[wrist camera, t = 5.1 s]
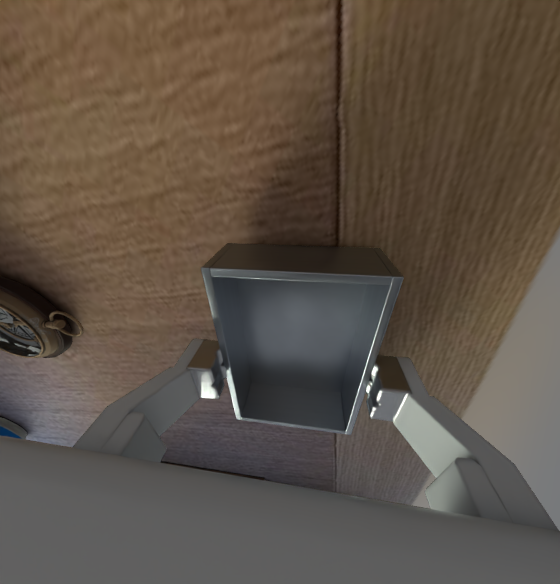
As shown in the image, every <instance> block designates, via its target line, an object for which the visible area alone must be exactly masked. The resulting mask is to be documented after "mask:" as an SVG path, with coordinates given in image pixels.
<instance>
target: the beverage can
mask: <svg viewBox="0 0 560 584" xmlns="http://www.w3.org/2000/svg"><path fill="white" fill-rule="evenodd" d="M0 435H1V436H7V437H13V438H19V439H25V440H26V436H27V432H26V431H25V430H24V429H23V428H21V427H20V426H18V425H17V424H15V423H13V422H11V421H9V420H6V419H4V418H1V417H0Z"/></svg>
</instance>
